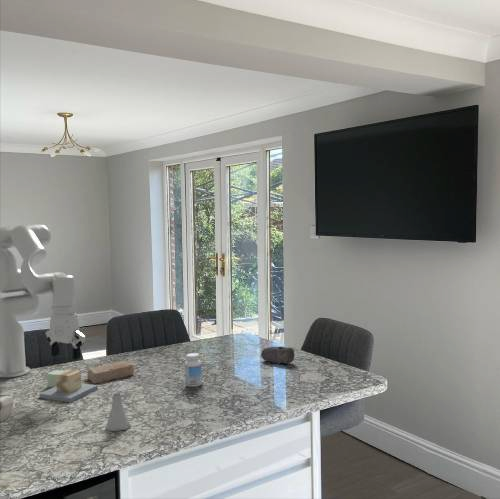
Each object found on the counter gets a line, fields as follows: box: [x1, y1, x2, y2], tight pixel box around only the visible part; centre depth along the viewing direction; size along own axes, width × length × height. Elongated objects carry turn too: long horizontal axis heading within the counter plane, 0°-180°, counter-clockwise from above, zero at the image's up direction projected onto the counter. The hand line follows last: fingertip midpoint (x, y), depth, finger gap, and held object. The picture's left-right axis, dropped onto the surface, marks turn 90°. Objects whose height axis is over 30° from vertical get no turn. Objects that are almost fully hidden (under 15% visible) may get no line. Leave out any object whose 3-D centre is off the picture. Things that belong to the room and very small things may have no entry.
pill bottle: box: [184, 352, 203, 388], centre depth 197 cm, size 6×6×11 cm
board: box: [39, 382, 99, 403], centre depth 191 cm, size 14×14×2 cm
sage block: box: [46, 369, 64, 388], centre depth 201 cm, size 5×5×5 cm
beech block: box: [56, 369, 82, 393], centre depth 191 cm, size 6×6×6 cm
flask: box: [105, 392, 131, 432], centre depth 159 cm, size 7×7×10 cm
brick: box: [87, 360, 135, 384], centre depth 210 cm, size 17×8×5 cm, turn 126°
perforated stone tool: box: [260, 346, 295, 365], centre depth 222 cm, size 15×5×7 cm, turn 56°
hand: (66, 357), depth 191 cm, fingers open, 9 cm apart
